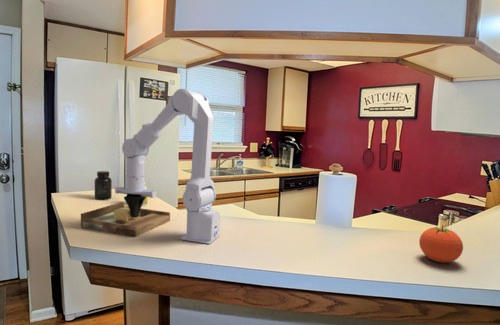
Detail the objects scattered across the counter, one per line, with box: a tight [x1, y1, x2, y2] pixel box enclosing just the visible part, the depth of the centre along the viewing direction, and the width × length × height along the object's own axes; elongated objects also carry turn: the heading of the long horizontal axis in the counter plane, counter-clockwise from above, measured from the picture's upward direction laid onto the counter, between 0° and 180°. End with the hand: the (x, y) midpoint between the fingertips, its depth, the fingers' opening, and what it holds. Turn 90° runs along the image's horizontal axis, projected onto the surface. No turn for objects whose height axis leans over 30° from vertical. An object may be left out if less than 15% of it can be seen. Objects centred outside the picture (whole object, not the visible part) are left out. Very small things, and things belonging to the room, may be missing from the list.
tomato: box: [418, 225, 464, 263], centre depth 87 cm, size 10×10×10 cm
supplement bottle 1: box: [94, 170, 113, 201], centre depth 142 cm, size 7×7×12 cm
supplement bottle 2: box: [141, 181, 148, 207], centre depth 134 cm, size 5×5×10 cm
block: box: [114, 207, 133, 221], centre depth 107 cm, size 5×5×3 cm
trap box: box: [80, 201, 171, 238], centre depth 107 cm, size 20×19×4 cm
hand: (135, 216), depth 106 cm, fingers closed
